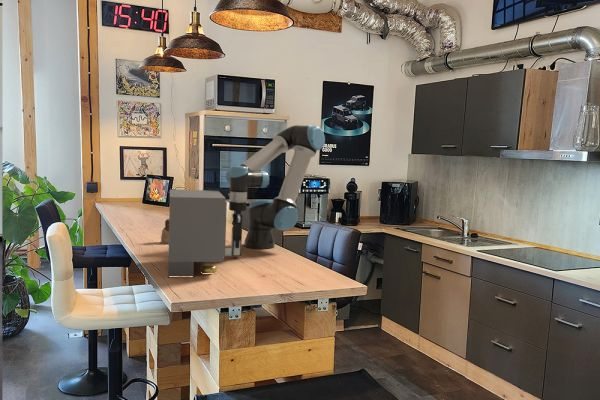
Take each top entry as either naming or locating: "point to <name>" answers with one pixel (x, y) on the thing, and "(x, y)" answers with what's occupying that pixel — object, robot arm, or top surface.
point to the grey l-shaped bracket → (231, 250)
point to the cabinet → (195, 229)
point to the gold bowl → (208, 268)
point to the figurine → (165, 233)
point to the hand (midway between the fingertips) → (235, 253)
